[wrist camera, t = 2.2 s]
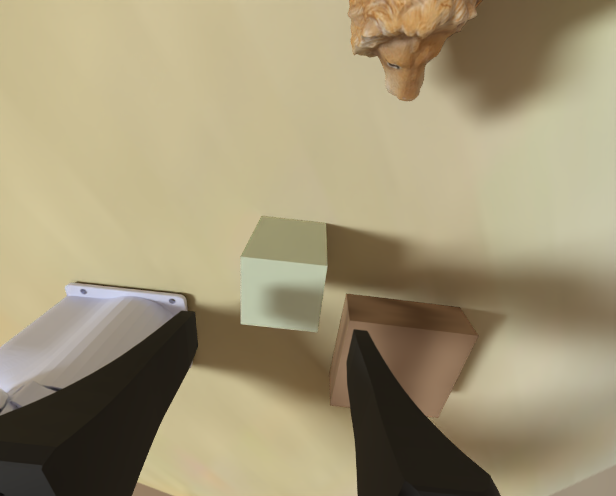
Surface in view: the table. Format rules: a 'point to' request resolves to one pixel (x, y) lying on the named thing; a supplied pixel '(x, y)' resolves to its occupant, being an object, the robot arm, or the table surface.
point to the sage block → (284, 274)
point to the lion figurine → (406, 36)
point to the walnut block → (406, 347)
